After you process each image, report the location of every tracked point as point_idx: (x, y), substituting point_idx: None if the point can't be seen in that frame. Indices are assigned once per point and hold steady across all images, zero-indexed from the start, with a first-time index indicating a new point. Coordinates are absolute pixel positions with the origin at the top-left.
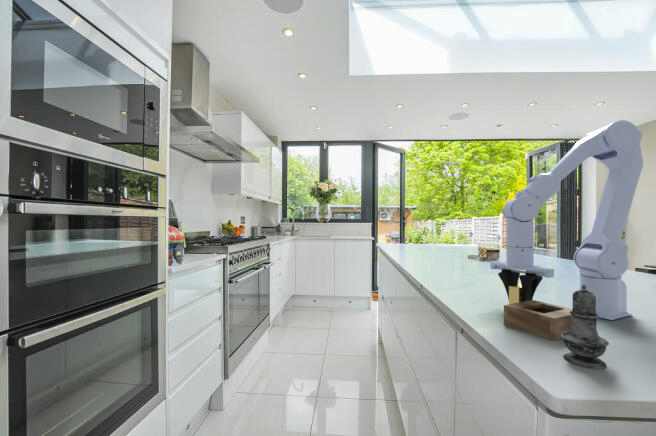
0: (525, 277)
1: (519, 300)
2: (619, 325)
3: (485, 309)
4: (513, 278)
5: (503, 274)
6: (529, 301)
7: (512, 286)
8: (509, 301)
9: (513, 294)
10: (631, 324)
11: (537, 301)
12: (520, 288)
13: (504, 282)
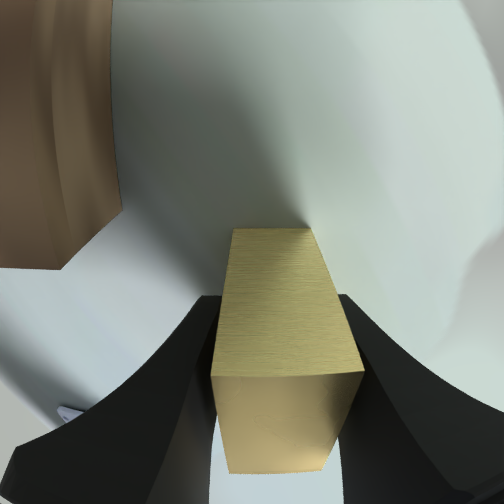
0: (26, 492)
1: (225, 284)
2: (26, 379)
3: (408, 102)
4: (367, 493)
5: (492, 476)
6: (27, 190)
7: (315, 379)
8: (318, 260)
9: (286, 305)
10: (37, 403)
11: (22, 255)
12: (215, 388)
13: (437, 394)
